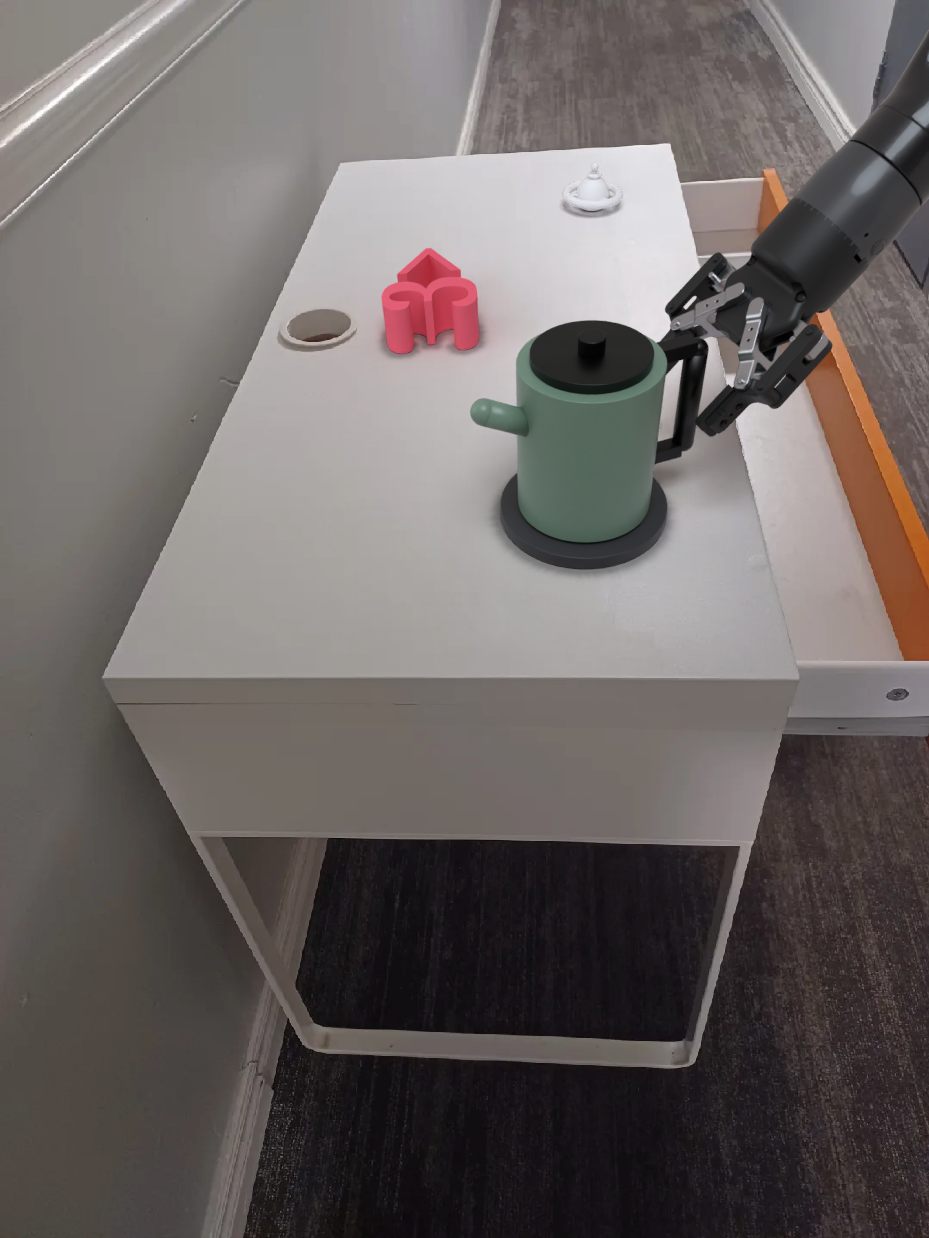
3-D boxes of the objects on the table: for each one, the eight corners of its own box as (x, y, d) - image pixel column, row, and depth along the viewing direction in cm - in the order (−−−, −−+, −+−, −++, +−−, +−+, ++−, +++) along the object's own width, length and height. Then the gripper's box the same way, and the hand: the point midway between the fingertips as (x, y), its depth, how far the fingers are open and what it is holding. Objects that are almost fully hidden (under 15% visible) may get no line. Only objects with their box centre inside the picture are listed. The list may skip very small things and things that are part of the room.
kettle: (656, 434, 80) (676, 274, 69) (721, 506, 72) (755, 340, 61) (454, 490, 76) (442, 330, 65) (503, 572, 68) (497, 407, 58)
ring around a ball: (611, 224, 114) (629, 201, 119) (615, 179, 109) (634, 156, 114) (552, 215, 116) (572, 192, 121) (555, 170, 112) (575, 148, 117)
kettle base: (673, 472, 78) (675, 461, 77) (656, 580, 69) (658, 569, 68) (519, 455, 81) (519, 444, 80) (483, 556, 72) (483, 545, 71)
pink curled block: (390, 292, 104) (385, 250, 101) (476, 287, 104) (474, 245, 100) (385, 354, 95) (380, 311, 91) (480, 349, 94) (478, 305, 91)
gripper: (753, 165, 66) (606, 338, 72) (876, 239, 57) (696, 430, 63) (798, 222, 71) (657, 379, 77) (918, 298, 62) (747, 470, 68)
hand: (674, 402), depth 70 cm, fingers open, 8 cm apart
